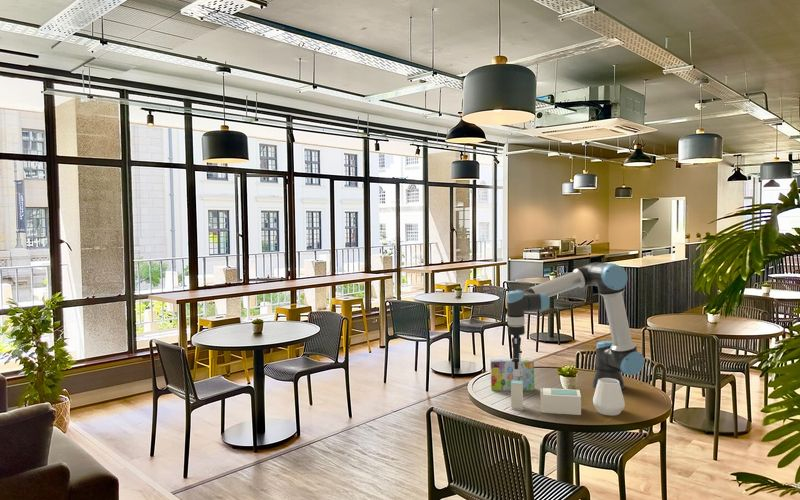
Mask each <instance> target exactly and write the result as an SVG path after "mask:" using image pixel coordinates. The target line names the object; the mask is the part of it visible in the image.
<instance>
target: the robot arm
mask: <svg viewBox="0 0 800 500" xmlns="http://www.w3.org/2000/svg"><path fill="white" fill-rule="evenodd" d="M627 283H628V273H627V271H626V269H625V268H623V267H622V266H621V265H619V264H616V263H613V262H612V263H611V262H610V263H607V262H599V261H598V262H597V261H595V262H590V263H588V264H585V265H582V266H579V267H577V268H575V269H573V270H572V272H569V273H567V274H564V275H561V276H558V277H555V278H553V279H550V280H547V281H544V282H542V283H540V284H537V285H534V286H531V287H527V288H525V289H516V290H509V291H508V292H507V293H506V308H507V309H506V310H507V311H506V314H507V315H506V316H507V317H506V318H505V320H506V321H507V325H508V326H507V334H508V335H511V336H512V338H511V345H512V346H511V347H512V359H513V360H512V362H513V376H520V368H521V359H522V354H523V350H522V349H521V343H522V337H521V336H523V335H525V333H526V331H525V330H526V327H525V324H526V323H525V322H526V321H525V312H535V311H540V312H541V311H544V310H547V309H549V307H550V298H551V297H553V296H557V295H560V294H562V293H565V292H567V291H570V290H573V289H576V288H580V289H581V288H585V287H589V286H591V287H592V286H594V287H597V290H598V294H599V295H600V296H601V297H602V298H603V303H604V307H605V312H606V318H607V321H608V326H609V331H610V336H611V339H612V340H601V341H598V342H597V343H596V348H595V356H596V357H595V367H596V370H595V373H594V377H593V379H592V386H593V387H594V388H595V389H596V386H597V382H598V380H599V379H601V378H612V379H616V380H618V381H619V383H620V387H621V390H624V389H625V385H626V384H625V380H624V377H623V374H624V375H629V376H634V375H637V374H639V373H640V372H641V371H642V369H643V368H644V365H645V358H644V355H643V354H642V353H641V352H639V351H638V348H637V344H636V343H635V342H634V341H633V339H632V335H631V331H630V326H629V321H628V316H627V310H626V307H625V302H624V296H623V293H624V292H625V290H626V289H625V287H626V285H627Z"/></svg>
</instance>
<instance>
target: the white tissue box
mask: <svg viewBox="0 0 800 500" xmlns="http://www.w3.org/2000/svg"><path fill="white" fill-rule="evenodd" d="M580 390H581V389H569V388H567V389H566V388H549V387H540V413H541V412H542V413H543V414H559V415H574V416H575V415H576V416H582V396H581V391H580Z"/></svg>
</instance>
